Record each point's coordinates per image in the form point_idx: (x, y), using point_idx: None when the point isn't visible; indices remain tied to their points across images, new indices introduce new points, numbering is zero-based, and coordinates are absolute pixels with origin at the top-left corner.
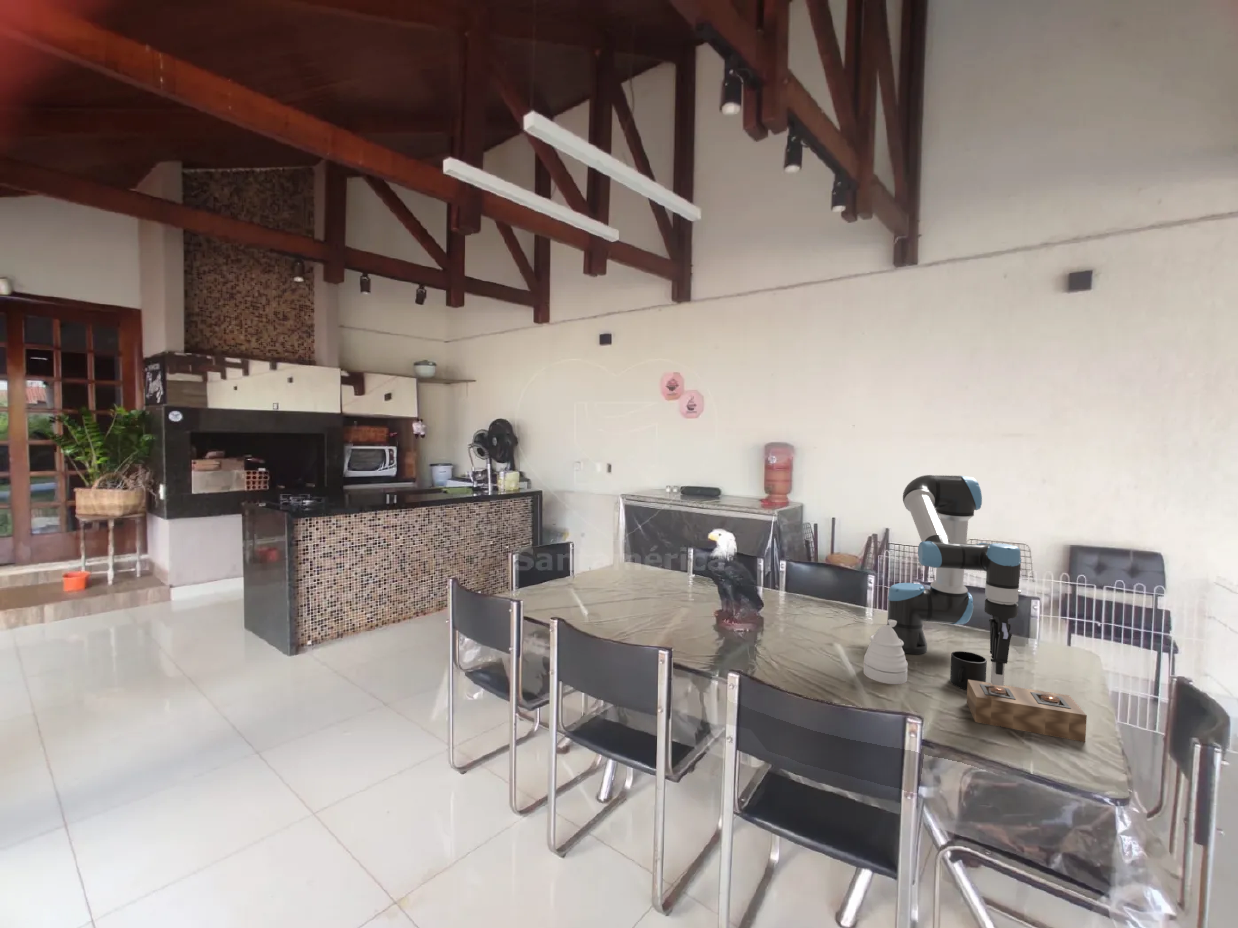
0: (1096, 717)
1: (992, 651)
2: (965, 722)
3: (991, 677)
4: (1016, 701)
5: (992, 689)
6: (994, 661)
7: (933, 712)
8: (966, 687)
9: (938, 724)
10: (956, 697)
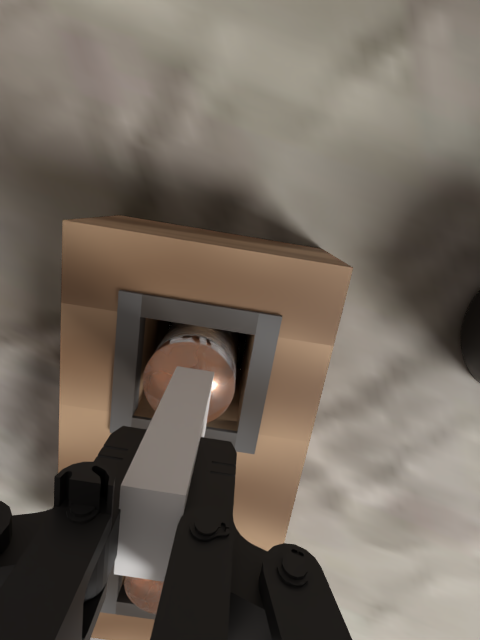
0: None
1: (188, 595)
2: (97, 165)
3: (193, 387)
4: (88, 424)
5: (166, 352)
6: (66, 492)
7: (157, 21)
8: (478, 302)
9: (18, 3)
10: (375, 219)
